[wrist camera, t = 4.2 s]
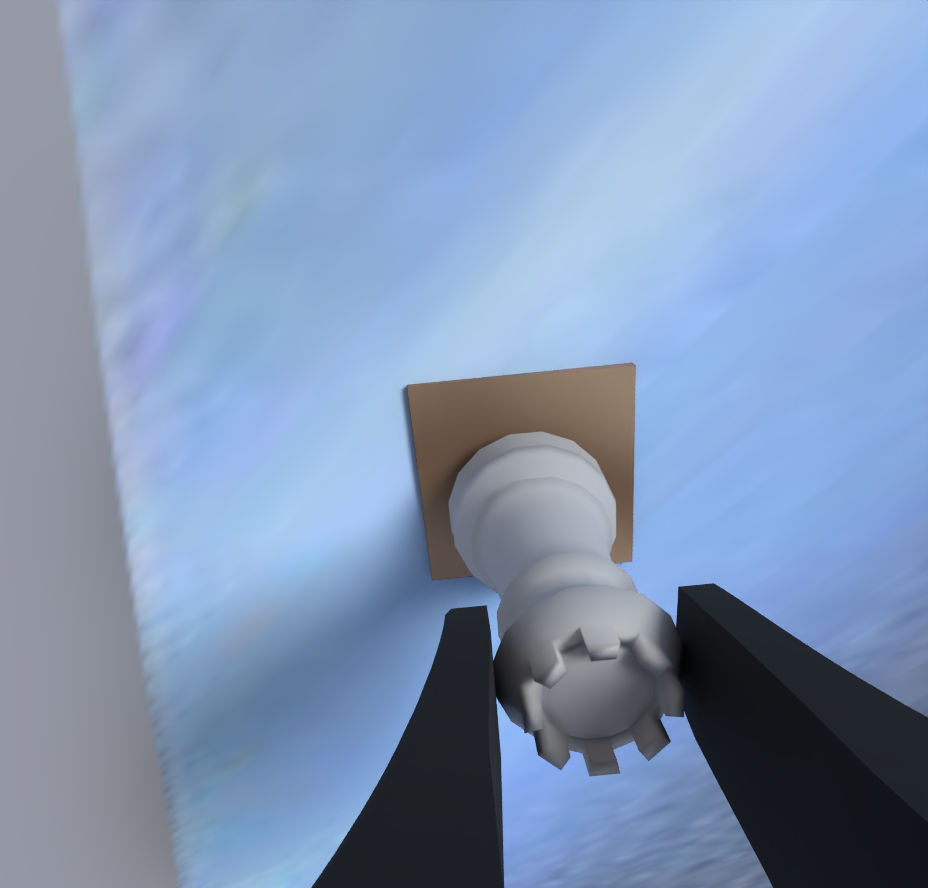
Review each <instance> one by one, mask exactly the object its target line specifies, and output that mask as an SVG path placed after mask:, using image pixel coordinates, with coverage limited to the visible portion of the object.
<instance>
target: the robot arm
mask: <svg viewBox="0 0 928 888" xmlns="http://www.w3.org/2000/svg"><path fill="white" fill-rule="evenodd" d="M676 629H677V631H678V633H679V635H680V637H681V639H682V642H683V644H684V649H683V675H682V678H681V680H680V683H681V685H682V687H683V689H684V690H685V700H684V711H685V714H686V716H687V719H688V722H689V724H690V727H691V729H692V732H693V734H694V737H695V739H696V741H697V743H698V745H699V747H700V749H701V751H702V753H703V755H704V756H705V758H706V760H707V762H708V764H709V766H710V768H711V770H712V772H713V774H714V776H715V778H716V780H717V781H718V783H719V785H720V787H721V789H722V791H723V793H724V795H725V797H726V799H727V800H728V802H729V804H730V806H731V808H732V810H733V812H734V814H735V816H736V817H737V819H738V821H739V823H740V825H741V827H742V829H743V831H744V833H745V834H746V836H747V838H748V840H749V842H750V844H751V846H752V848H753V850H754V851H755V853H756V855H757V857H758V859H759V861H760V863H761V865H762V867H763V868H764V870H765V872H766V874H767V876H768V878H769V880H770V882H771V884H772V886H773V888H928V717H926V716H924V715H922V714H921V713H919V712H917V711H915V710H913V709H911V708H910V707H908V706H906V705H904V704H903V703H901V702H899V701H897V700H896V699H894V698H892V697H891V696H889V695H887V694H886V693H884V692H882V691H880V690H879V689H877V688H875V687H874V686H872V685H870V684H868V683H867V682H865V681H863V680H862V679H860V678H858V677H857V676H855V675H853V674H852V673H850V672H849V671H847V670H845V669H844V668H842V667H841V666H839V665H837V664H836V663H834V662H833V661H831V660H829V659H828V658H826V657H825V656H823V655H822V654H820V653H818V652H817V651H815V650H814V649H812V648H811V647H809V646H808V645H806V644H805V643H803V642H802V641H800V640H798V639H797V638H795V637H794V636H792V635H791V634H789V633H788V632H786V631H785V630H783V629H782V628H780V627H779V626H777V625H776V624H775V623H773V622H772V621H770V620H769V619H767V618H766V617H764V616H763V615H761V614H760V613H758V612H757V611H755V610H754V609H752V608H751V607H749V606H748V605H746V604H745V603H743V602H742V601H740V600H739V599H737V598H736V597H734V596H733V595H731V594H730V593H728V592H727V591H725V590H724V589H722V588H720V587H719V586H717V585H716V584H714V583H713V584H703V585H693V586H682V587H679V588H678V605H677V622H676ZM311 888H504V865H503V823H502V782H501V753H500V740H499V728H498V716H497V704H496V691H495V679H494V667H493V655H492V642H491V631H490V624H489V618H488V612H487V606H476V607H466V608H455V609H451V610H450V611H449V612H448V613H447V614H446V615H445V621H444V627H443V631H442V635H441V639H440V643H439V646H438V649H437V653H436V656H435V659H434V662H433V665H432V668H431V670H430V673H429V675H428V678H427V680H426V683H425V685H424V688H423V691H422V693H421V696H420V698H419V701H418V703H417V705H416V708H415V710H414V712H413V714H412V716H411V719H410V721H409V723H408V725H407V727H406V729H405V731H404V733H403V735H402V738H401V740H400V742H399V744H398V746H397V748H396V750H395V752H394V754H393V756H392V758H391V760H390V762H389V764H388V766H387V767H386V769H385V771H384V773H383V775H382V777H381V779H380V780H379V782H378V784H377V786H376V787H375V789H374V791H373V793H372V794H371V796H370V798H369V799H368V801H367V803H366V805H365V806H364V808H363V810H362V811H361V813H360V815H359V816H358V818H357V819H356V821H355V823H354V824H353V826H352V827H351V829H350V830H349V832H348V833H347V835H346V837H345V838H344V840H343V841H342V843H341V844H340V846H339V848H338V849H337V851H336V852H335V854H334V855H333V857H332V858H331V860H330V861H329V863H328V864H327V866H326V867H325V869H324V870H323V872H322V873H321V875H320V876H319V877H318V879H317V880H316V882H315V883H314V885H313V886H312V887H311Z"/></svg>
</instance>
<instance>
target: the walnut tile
mask: <svg viewBox="0 0 928 888" xmlns="http://www.w3.org/2000/svg"><path fill="white" fill-rule="evenodd" d="M635 375H636V365H635V364H633V363H624V364H614V365H604V366H594V367H584V368H574V369H563V370H553V371H543V372H533V373H523V374H513V375H503V376H492V377H482V378H472V379H462V380H452V381H442V382H432V383H421V384H411V385H407V390H408V398H409V406H410V413H411V421H412V429H413V437H414V444H415V452H416V460H417V468H418V475H419V483H420V491H421V499H422V506H423V514H424V522H425V530H426V537H427V545H428V553H429V561H430V568H431V576H432V580H441V579H451V578H462V577H473V575H472V573H471V572H470V571H469V569H468V567H467V566H466V564H465V562H464V560H463V559H462V557H461V555H460V554H459V552H458V550H457V549H456V547H455V543H454V535H453V533H452V532H451V523H450V513H449V503H448V502H449V499H450V496H451V493H452V490H453V487H454V484H455V481H456V478H457V475H458V473H459V472H460V471H461V470H462V469H463V467H464V466H465V465H466V464H467V463H468V462H469V461H470V460H471V458H472V457H473V456H474V455H475V454H476V453H477V452H478V451H479V449H481V448H483V447H485V446H487V445H489V444H491V443H493V442H495V441H497V440H499V439H501V438H503V437H505V436H507V435H510V434H520V433H531V432H546V433H549V434H552V435H556V436H559V437H562V438H566V439H569V440H572V441H574V442H575V443H576V444H577V445H579V446H580V447H581V448H582V449H583V450H585V451H586V452H587V453H588V454H589V455H590V456H592V457H593V458H594V459H595V460H596V461H597V463H598V465H599V467H600V469H601V471H602V473H603V475H604V477H605V479H606V481H607V483H608V485H609V487H610V490H611V492H612V494H613V496H614V498H615V500H616V538H615V540H614V543H613V545H612V549H611V552H610V558H611V561H612V562H614V563H622V562H632V546H633V489H634V432H635Z"/></svg>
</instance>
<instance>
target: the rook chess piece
mask: <svg viewBox="0 0 928 888" xmlns="http://www.w3.org/2000/svg"><path fill="white" fill-rule="evenodd" d="M448 503H449V513H450V523H451V532H452V533H453V535H454V543H455V547H456V549H457V550H458V552H459V554H460V555H461V557H462V559H463V560H464V562H465V564H466V566H467V567H468V569H469V571H470V572H471V573H472V575H473V576H474V577H476V578H477V579H478V580H480V581H481V582H482V583H484V584H485V585H487V586H488V587H489V588H491V589H492V590H493V591H495V592H496V593H498V594H499V596H500V598H501V603H500V605H499V608H498V610H497V621H498V635H499V638H500V640H501V643H500V645H499V648H498V650H497V653H496V655H495V658H494V660H493V667H494V679H495V691H496V697H497V699H498V701H499V702H500V704H501V706H502V707H503V709H504V710H505V712H506V714H507V715H508V717H509V719H510V720H511V721H512V722H513V723H515V724H516V725H518V726H519V727H521V728H522V729H524V732H525V733H530V734H531V735H533V736H534V737H535V742H536V747H537V752H538V755H539V756H540V757H542V758H543V759H545V760H546V761H548V762H549V763H551V764H552V765H554V766H555V767H557V768H558V769H560V770H561V769H562V768H563V767H564V765H565V764H566V763H567V761H568V760H569V759H570V753H569V750H570V751H575V752H579V753H583V756H584V759H585V763H586V766H587V769H588V773H589V776H598V775H608V774H618V773H620V771H619V767H618V763H617V759H616V756H615V754H614V751H613V750H614V749H616V748H618V747H621V746H623V745H625V744H628V743H630V742H632V741H635V742H636V745H637V747H638V750H639V751H640V752H641V753H642V754H643V755H644V757H645V758H646V759H647V760H648V761H649V760H650V759H652V758H653V757H654V756H655V755H656V754H657V753H658V752H660V751H661V750H662V749H663V748H664V747H665V746H666V745H668V744H669V743H670V742H671V741H670V739H669V737H668V735H667V732H666V730H665V728H664V726H663V724H662V722H661V720H660V719H661V717H662V715H663V713H664V714H665V716H674V717H684V700H685V690H684V689H683V687H682V685H681V683H680V680H681V678H682V675H683V649H684V644H683V642H682V639H681V637H680V635H679V633H678V631H677V629H676V627H675V624H674V622H673V620H672V618H671V616H670V615H669V614H668V613H666V612H665V611H664V610H663V609H661V608H660V607H659V606H658V605H656V604H655V603H654V602H653V601H651V600H650V599H649V598H647V597H646V596H645V595H644V594H641V593H638V591H637V589H636V587H635V585H634V583H633V581H632V578H631V576H630V575H629V574H627V573H626V572H625V571H624V570H622V569H621V568H620V567H619V566H617V565H616V564H615V563H614V562H612V561H611V558H610V552H611V549H612V545H613V543H614V540H615V538H616V500H615V498H614V496H613V494H612V492H611V490H610V487H609V485H608V483H607V481H606V479H605V477H604V475H603V473H602V471H601V469H600V467H599V465H598V463H597V461H596V460H595V459H594V458H593V457H592V456H590V455H589V454H588V453H587V452H586V451H585V450H583V449H582V448H581V447H580V446H579V445H577V444H576V443H575V442H574V441H572V440H569V439H566V438H562V437H559V436H556V435H552V434H549V433H546V432H531V433H520V434H510V435H507V436H505V437H503V438H501V439H499V440H497V441H495V442H493V443H491V444H489V445H487V446H485V447H483V448H481V449H479V451H478V452H477V453H476V454H475V455H474V456H473V457H472V458H471V460H470V461H469V462H468V463H467V464H466V465H465V466H464V467H463V469H462V470H461V471H460V472H459V473H458V475H457V478H456V481H455V484H454V487H453V490H452V493H451V496H450V499H449V502H448Z"/></svg>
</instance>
